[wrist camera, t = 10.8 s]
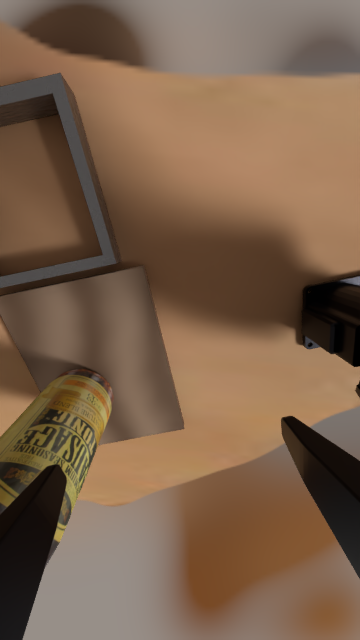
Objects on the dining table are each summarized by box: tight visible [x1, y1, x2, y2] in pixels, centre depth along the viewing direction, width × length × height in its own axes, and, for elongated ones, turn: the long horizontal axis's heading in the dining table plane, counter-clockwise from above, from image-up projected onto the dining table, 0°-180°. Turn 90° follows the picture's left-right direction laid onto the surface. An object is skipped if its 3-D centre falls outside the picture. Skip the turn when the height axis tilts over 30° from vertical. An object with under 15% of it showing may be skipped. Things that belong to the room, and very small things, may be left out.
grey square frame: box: [0, 73, 122, 288], centre depth 16 cm, size 11×11×2 cm
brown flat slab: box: [0, 265, 184, 445], centre depth 22 cm, size 13×18×1 cm
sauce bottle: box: [0, 369, 114, 569], centre depth 12 cm, size 7×6×20 cm
